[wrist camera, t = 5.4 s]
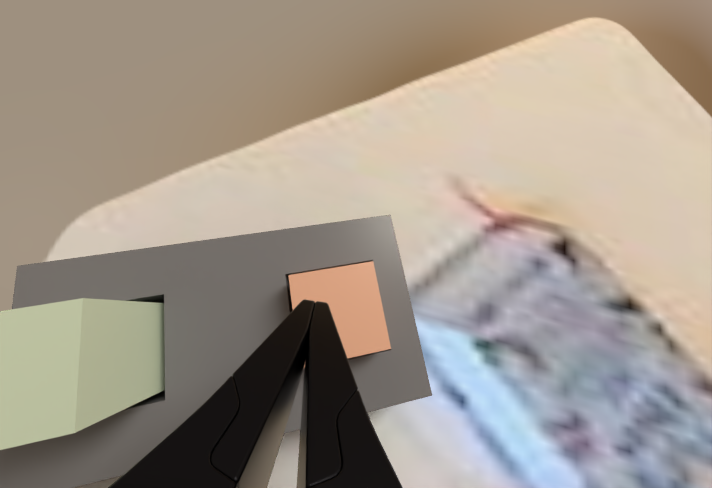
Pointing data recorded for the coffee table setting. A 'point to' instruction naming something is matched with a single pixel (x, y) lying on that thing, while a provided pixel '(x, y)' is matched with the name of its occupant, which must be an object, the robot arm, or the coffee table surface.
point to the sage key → (76, 365)
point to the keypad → (213, 333)
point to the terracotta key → (347, 304)
